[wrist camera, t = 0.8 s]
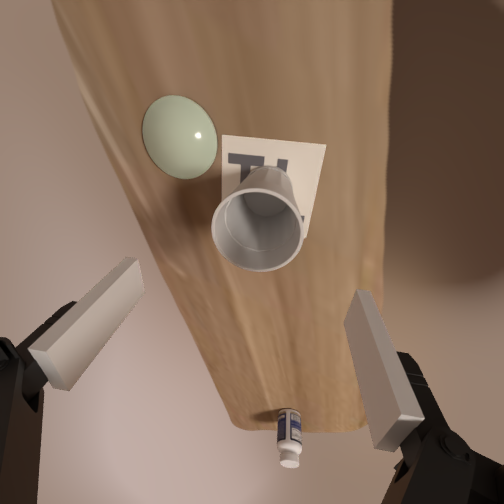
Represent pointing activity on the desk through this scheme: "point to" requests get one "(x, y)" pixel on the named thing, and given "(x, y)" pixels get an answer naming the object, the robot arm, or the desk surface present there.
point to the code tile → (279, 155)
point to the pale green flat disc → (180, 137)
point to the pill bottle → (289, 437)
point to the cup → (259, 222)
